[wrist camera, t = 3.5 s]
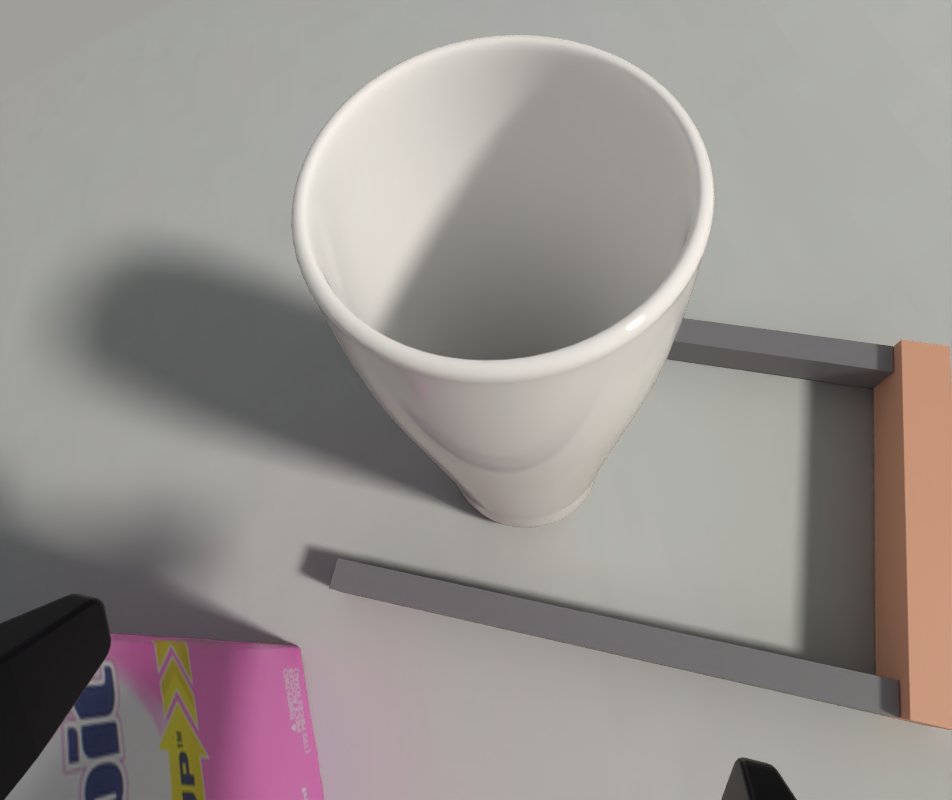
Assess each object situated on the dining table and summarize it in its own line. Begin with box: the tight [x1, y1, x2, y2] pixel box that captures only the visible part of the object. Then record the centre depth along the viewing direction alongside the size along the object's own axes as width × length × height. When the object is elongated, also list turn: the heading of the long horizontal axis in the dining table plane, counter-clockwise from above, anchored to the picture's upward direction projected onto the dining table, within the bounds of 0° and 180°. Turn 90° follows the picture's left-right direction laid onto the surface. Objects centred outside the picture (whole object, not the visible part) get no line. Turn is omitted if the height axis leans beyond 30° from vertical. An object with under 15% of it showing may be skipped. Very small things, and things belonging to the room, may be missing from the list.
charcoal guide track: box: [329, 318, 900, 718], centre depth 22 cm, size 18×12×2 cm
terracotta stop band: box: [874, 340, 952, 730], centre depth 20 cm, size 2×12×2 cm, turn 168°
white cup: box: [291, 35, 714, 528], centre depth 17 cm, size 7×7×15 cm
